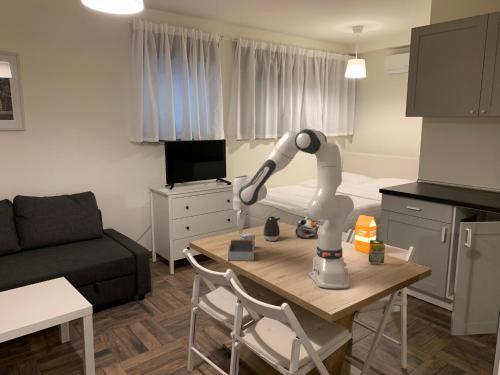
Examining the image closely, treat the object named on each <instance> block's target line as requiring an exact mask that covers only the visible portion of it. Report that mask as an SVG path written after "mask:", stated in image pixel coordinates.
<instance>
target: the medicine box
mask: <svg viewBox="0 0 500 375" xmlns="http://www.w3.org/2000/svg"><path fill="white" fill-rule="evenodd" d="M255 239H256V236H255V234H254V233H251V232H248V233H244V234H243V233H242V234H240V235H239V240H252V245H254V250H255V248H256V247H255V246H256V245H255V244H256V240H255Z"/></svg>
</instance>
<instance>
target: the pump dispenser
mask: <svg viewBox="0 0 500 375" xmlns="http://www.w3.org/2000/svg"><path fill="white" fill-rule="evenodd" d="M279 220H281V217H275V216H272V215H271V216H269V217H268V218H266V221H265V223H264V228H263V236H264V239H265V240H267V241H269V242H275V241H277V240H278V239H279V237H280V234H281V233H280V232H281V230H280V226H279V222H278V221H279Z"/></svg>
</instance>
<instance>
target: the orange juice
mask: <svg viewBox="0 0 500 375" xmlns="http://www.w3.org/2000/svg"><path fill="white" fill-rule="evenodd" d="M354 234H355V235H354V250H356V251H360V252H364V253H367V254H369V247H370V240H377V224H376V220H375V218H374V217H373V216H368V215H363V214H359V217H358V219H357V220H356V223H355V233H354ZM374 243H376V241H374Z"/></svg>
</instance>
